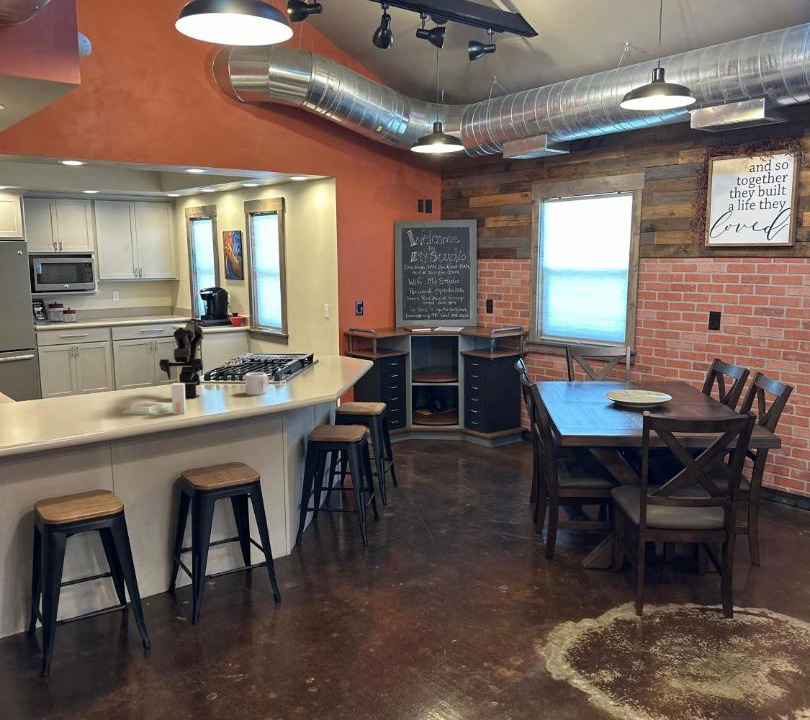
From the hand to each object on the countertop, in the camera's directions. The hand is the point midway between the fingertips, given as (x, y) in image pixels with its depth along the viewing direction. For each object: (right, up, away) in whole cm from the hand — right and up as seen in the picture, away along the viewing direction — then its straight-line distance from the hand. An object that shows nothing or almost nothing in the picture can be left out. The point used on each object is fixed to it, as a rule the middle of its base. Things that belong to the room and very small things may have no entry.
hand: (179, 379), depth 309 cm
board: (-14, -13, 0) cm, 19 cm away
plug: (+2, -14, -6) cm, 16 cm away
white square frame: (-13, -14, -4) cm, 20 cm away
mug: (+27, -8, +39) cm, 48 cm away
